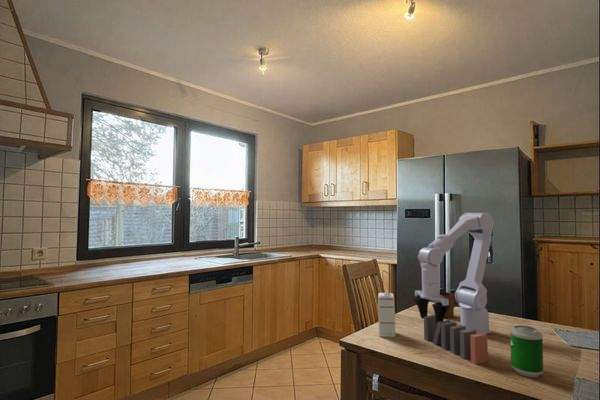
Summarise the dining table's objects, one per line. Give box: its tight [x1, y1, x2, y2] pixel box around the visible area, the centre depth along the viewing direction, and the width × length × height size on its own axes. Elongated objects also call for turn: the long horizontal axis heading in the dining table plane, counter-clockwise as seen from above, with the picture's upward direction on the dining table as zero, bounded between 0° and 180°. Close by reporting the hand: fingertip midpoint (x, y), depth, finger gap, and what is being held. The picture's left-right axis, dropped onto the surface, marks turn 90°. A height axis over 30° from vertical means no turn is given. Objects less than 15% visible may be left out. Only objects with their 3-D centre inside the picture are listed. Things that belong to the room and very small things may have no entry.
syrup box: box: [377, 292, 396, 338], centre depth 129 cm, size 6×6×14 cm
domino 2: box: [432, 319, 452, 346], centre depth 119 cm, size 5×2×8 cm, turn 111°
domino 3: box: [440, 321, 458, 350], centre depth 117 cm, size 5×2×8 cm, turn 111°
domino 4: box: [449, 324, 466, 355], centre depth 113 cm, size 5×2×8 cm, turn 112°
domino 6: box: [470, 333, 489, 365], centre depth 106 cm, size 5×2×8 cm, turn 111°
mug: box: [433, 291, 460, 319], centre depth 150 cm, size 12×8×9 cm, turn 92°
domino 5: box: [459, 329, 476, 360], centre depth 109 cm, size 5×2×8 cm, turn 112°
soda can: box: [509, 324, 544, 378], centre depth 99 cm, size 8×8×12 cm
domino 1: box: [423, 314, 437, 342], centre depth 124 cm, size 5×2×8 cm, turn 112°
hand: (431, 321), depth 124 cm, fingers open, 7 cm apart
